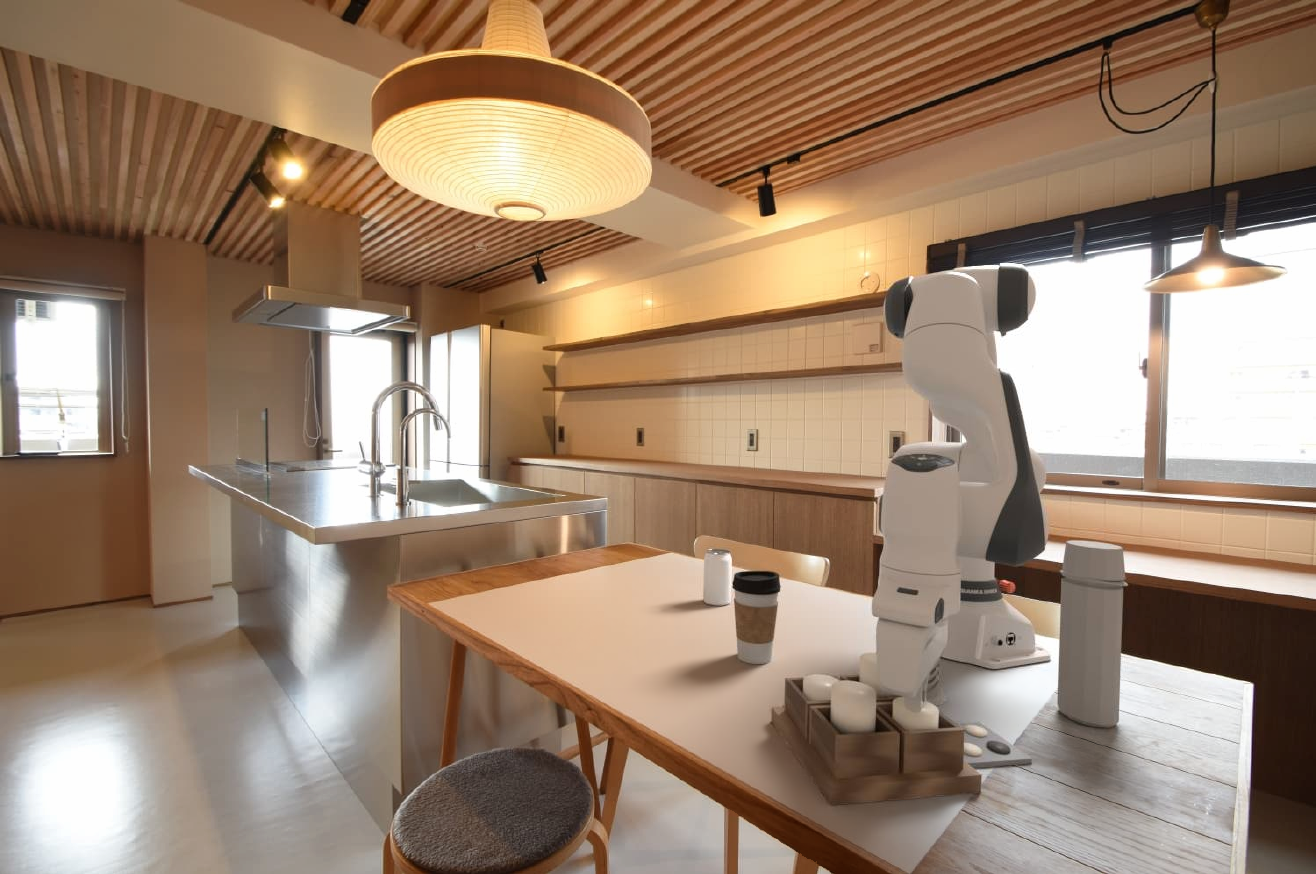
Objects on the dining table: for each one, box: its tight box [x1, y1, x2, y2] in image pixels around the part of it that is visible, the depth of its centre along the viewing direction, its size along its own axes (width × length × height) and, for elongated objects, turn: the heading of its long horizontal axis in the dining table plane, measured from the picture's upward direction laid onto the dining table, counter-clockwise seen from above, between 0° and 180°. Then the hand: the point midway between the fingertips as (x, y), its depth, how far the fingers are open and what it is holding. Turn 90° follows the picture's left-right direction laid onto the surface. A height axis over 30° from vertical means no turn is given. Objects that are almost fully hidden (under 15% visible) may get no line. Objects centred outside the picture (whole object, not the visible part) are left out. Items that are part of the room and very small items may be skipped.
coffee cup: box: [731, 570, 782, 665], centre depth 102 cm, size 8×8×15 cm
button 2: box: [830, 680, 876, 735], centre depth 68 cm, size 5×5×5 cm
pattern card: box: [955, 721, 1033, 769], centre depth 75 cm, size 9×9×1 cm
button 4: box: [892, 697, 940, 731], centre depth 69 cm, size 5×5×5 cm
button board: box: [770, 674, 982, 806], centre depth 72 cm, size 18×18×6 cm
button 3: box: [858, 652, 899, 698], centre depth 77 cm, size 5×5×5 cm
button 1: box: [803, 673, 839, 701], centre depth 75 cm, size 5×5×5 cm
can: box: [702, 548, 733, 607], centre depth 135 cm, size 6×6×12 cm
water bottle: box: [1056, 539, 1129, 728], centre depth 83 cm, size 9×8×25 cm
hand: (915, 706), depth 69 cm, fingers closed, pressing on button 4
